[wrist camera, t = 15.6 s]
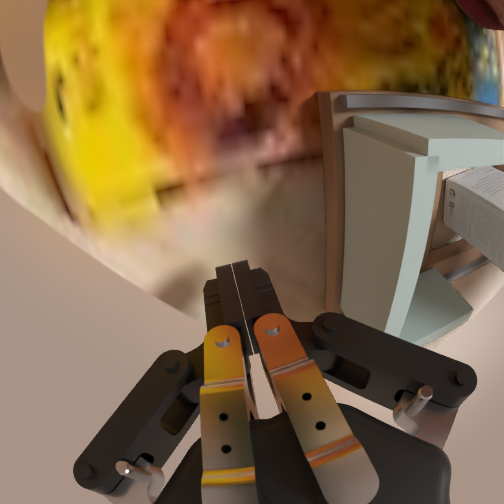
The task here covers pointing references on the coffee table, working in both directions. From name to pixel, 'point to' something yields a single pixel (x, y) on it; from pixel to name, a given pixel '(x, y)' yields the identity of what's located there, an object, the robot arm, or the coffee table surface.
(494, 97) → the coffee table surface
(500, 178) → the skincare box
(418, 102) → the board
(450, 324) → the bracket
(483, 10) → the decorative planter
